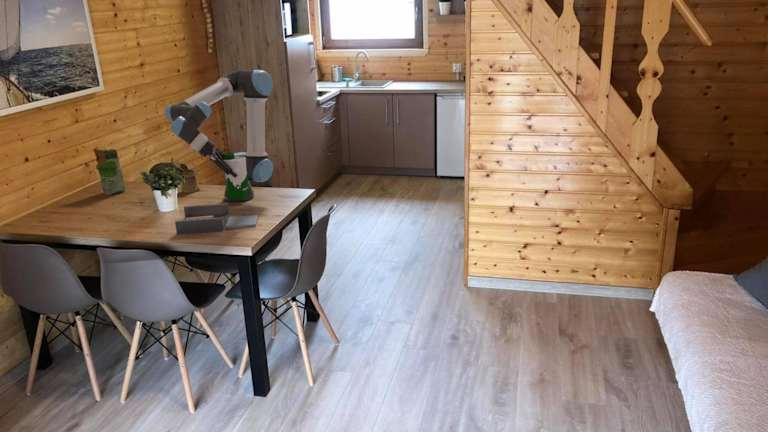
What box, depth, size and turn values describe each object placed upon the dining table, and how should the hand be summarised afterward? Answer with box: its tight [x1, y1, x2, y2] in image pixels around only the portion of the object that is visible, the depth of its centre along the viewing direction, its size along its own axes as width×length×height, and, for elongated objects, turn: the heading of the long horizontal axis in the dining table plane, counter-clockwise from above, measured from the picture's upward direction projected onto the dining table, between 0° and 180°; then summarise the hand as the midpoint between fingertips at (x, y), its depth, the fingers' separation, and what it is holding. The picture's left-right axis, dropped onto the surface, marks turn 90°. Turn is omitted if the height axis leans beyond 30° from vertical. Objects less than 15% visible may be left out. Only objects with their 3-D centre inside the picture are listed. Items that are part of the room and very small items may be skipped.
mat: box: [225, 214, 259, 229], centre depth 290 cm, size 13×13×1 cm
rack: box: [174, 202, 230, 236], centre depth 288 cm, size 22×20×6 cm
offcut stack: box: [185, 215, 215, 220], centre depth 284 cm, size 6×16×5 cm, turn 96°
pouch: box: [92, 148, 126, 195], centre depth 340 cm, size 11×12×25 cm
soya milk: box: [224, 152, 249, 200], centre depth 282 cm, size 9×9×20 cm
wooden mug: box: [170, 157, 200, 194], centre depth 340 cm, size 9×14×18 cm, turn 78°
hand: (243, 178), depth 283 cm, fingers closed on soya milk, 9 cm apart
